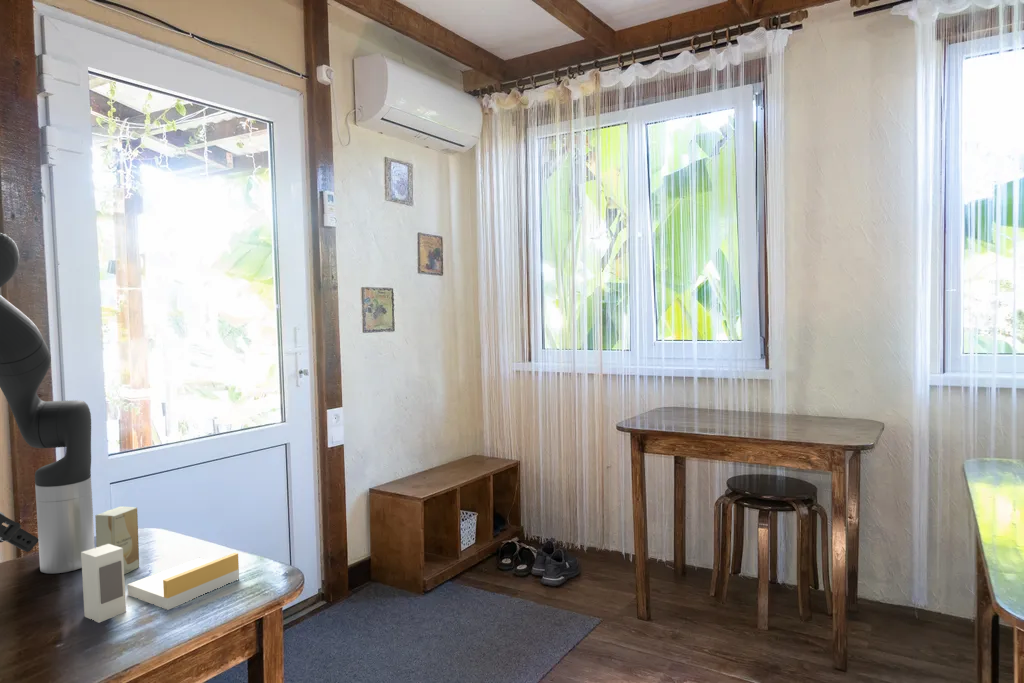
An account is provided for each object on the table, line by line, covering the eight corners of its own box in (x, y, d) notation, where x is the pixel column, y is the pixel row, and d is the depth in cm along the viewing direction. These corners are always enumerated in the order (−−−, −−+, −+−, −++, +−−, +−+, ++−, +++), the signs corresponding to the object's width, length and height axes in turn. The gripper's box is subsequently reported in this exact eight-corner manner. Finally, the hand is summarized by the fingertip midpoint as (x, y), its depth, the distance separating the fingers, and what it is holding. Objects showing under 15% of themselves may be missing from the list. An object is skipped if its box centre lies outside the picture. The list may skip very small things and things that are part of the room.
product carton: (84, 616, 109) (81, 552, 109) (111, 606, 113) (108, 543, 112) (99, 623, 107) (96, 557, 106) (126, 612, 111) (123, 548, 110)
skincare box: (115, 579, 124) (112, 516, 123) (96, 578, 125) (93, 515, 124) (141, 566, 130) (138, 506, 130) (122, 565, 131) (119, 505, 130)
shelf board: (128, 595, 117) (126, 567, 117) (199, 567, 129) (198, 542, 129) (167, 610, 111) (166, 581, 111) (239, 579, 123) (238, 553, 123)
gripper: (-37, 466, 87) (62, 525, 98) (-80, 456, 94) (16, 512, 105) (-86, 516, 83) (23, 573, 93) (-127, 501, 90) (-22, 556, 100)
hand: (19, 541), depth 99 cm, fingers open, 8 cm apart
